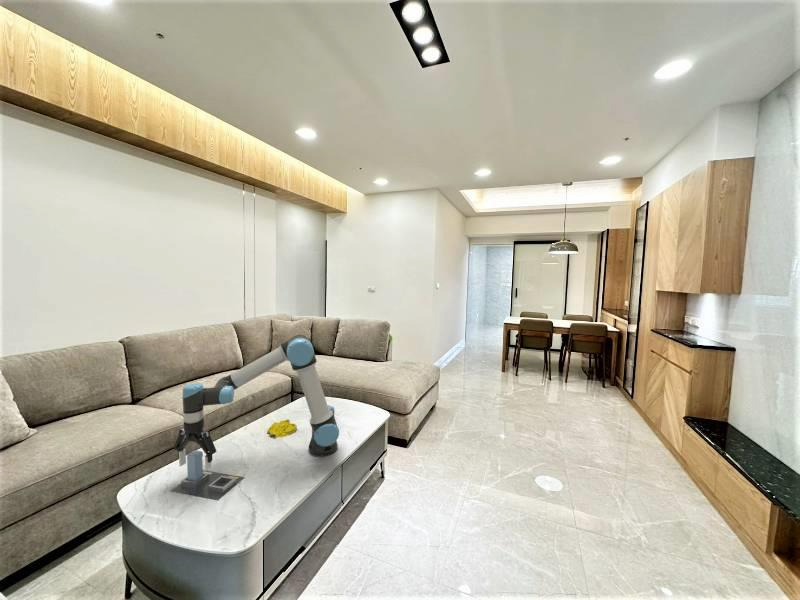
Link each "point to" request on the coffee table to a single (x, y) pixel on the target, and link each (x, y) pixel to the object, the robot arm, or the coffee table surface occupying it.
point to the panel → (208, 485)
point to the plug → (195, 465)
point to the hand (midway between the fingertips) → (195, 466)
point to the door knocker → (282, 428)
